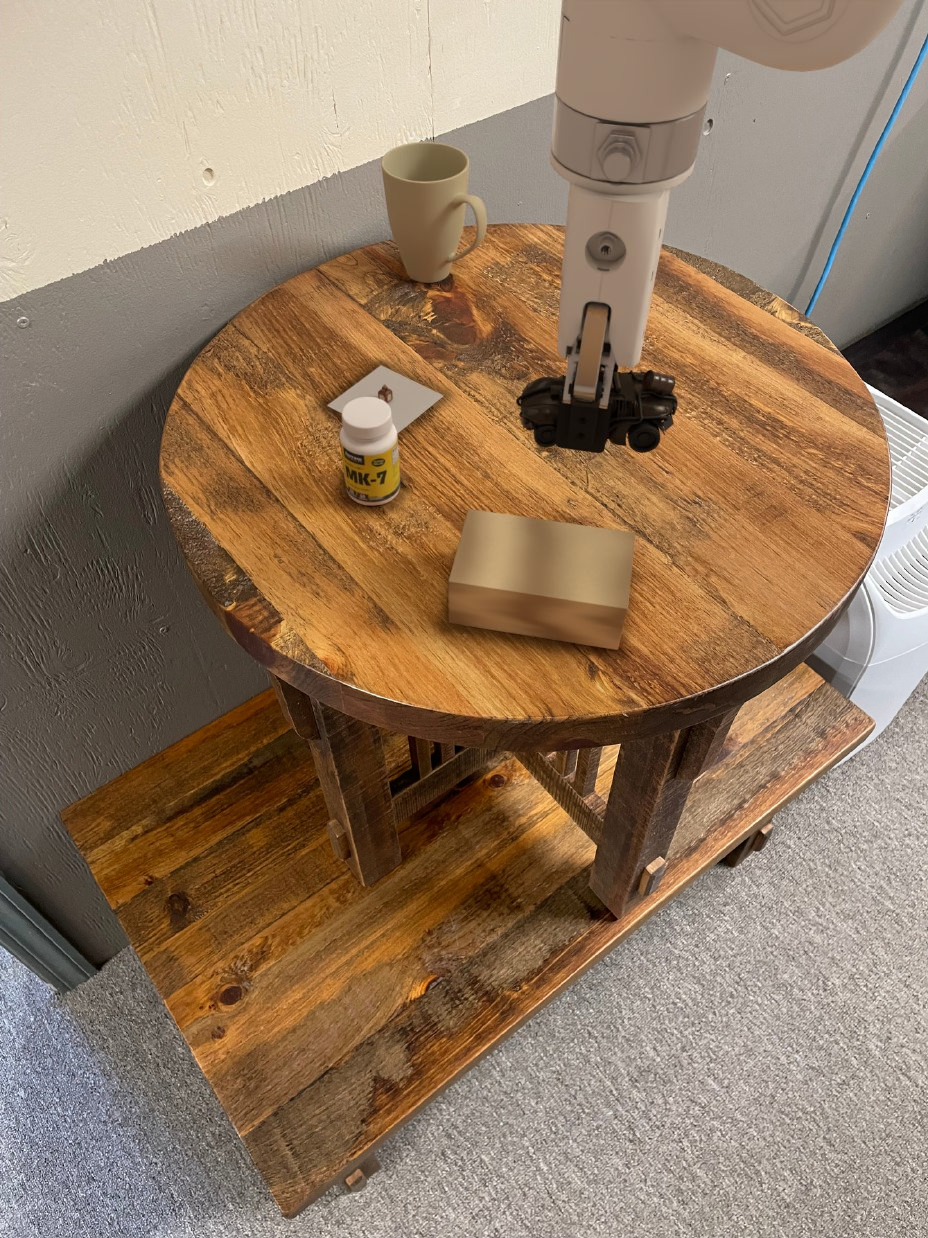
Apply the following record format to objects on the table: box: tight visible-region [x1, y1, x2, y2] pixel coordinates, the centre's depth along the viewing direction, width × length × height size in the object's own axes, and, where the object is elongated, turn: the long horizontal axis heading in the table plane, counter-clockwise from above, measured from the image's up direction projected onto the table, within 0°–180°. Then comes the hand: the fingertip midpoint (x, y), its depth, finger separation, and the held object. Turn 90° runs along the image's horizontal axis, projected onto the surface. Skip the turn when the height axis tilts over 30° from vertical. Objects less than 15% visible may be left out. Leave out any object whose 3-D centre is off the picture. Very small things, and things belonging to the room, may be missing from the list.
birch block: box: [447, 508, 636, 651], centre depth 66 cm, size 13×8×5 cm, turn 79°
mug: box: [380, 141, 488, 284], centre depth 92 cm, size 11×10×12 cm
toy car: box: [497, 366, 679, 454], centre depth 57 cm, size 6×12×4 cm, turn 91°
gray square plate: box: [326, 364, 445, 435], centre depth 82 cm, size 8×8×2 cm
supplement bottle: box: [339, 397, 401, 506], centre depth 72 cm, size 5×5×8 cm
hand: (586, 411), depth 58 cm, fingers closed on toy car, 6 cm apart
